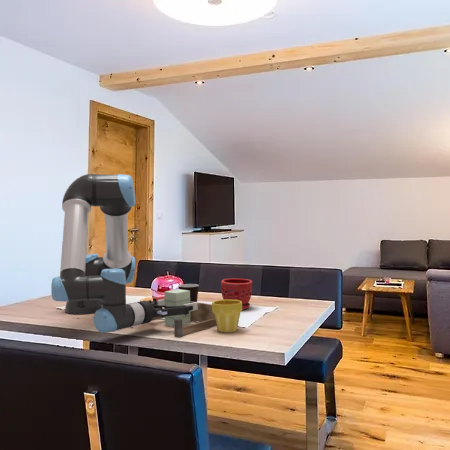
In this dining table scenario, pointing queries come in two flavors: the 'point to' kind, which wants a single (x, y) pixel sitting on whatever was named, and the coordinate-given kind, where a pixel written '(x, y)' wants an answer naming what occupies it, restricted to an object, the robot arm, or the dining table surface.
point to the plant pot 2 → (227, 314)
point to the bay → (200, 315)
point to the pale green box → (177, 299)
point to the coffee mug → (191, 290)
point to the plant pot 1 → (237, 290)
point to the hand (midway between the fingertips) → (183, 303)
